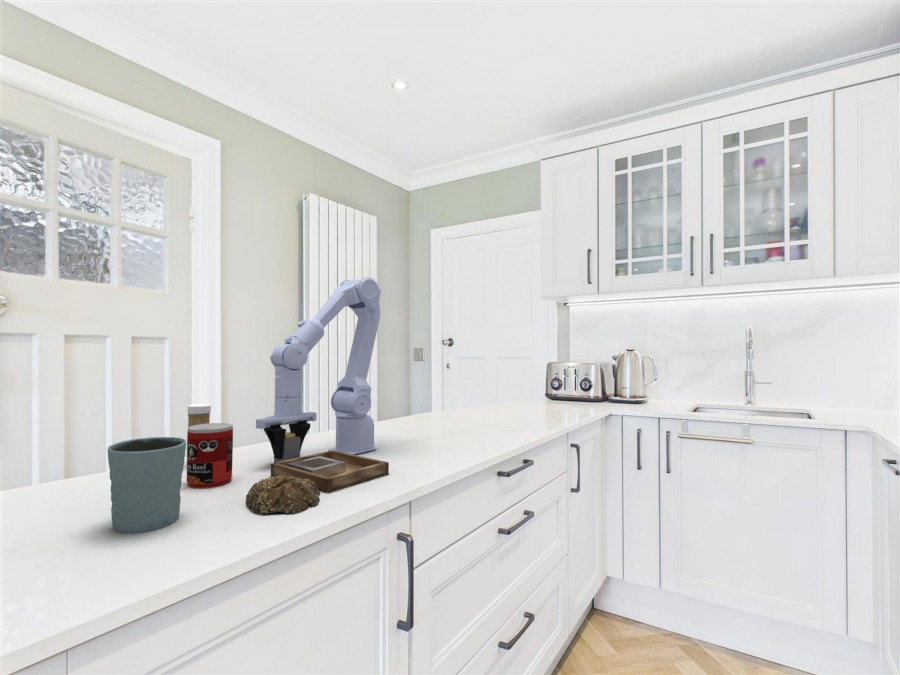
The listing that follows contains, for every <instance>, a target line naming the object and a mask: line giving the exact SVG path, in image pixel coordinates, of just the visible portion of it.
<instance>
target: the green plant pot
mask: <svg viewBox="0 0 900 675" xmlns="http://www.w3.org/2000/svg"><path fill="white" fill-rule="evenodd" d="M186 450H187V440H186V439H185V438H181V437H176V436H175V437H173V436H153V437H152V436H151V437H142V438H141V437H140V438H133V439H127V440H122V441H119V442H116V443H113V444H111V445H109V446H108V447H107V460H108V461H107V462H108V467H109V479H110V501H111V508H110V510H111V511H110V512H111V514H110V515H111V527H112V529H113V531H115V532H118V533H121V534H137V533H147V532H151V531H155V530H159V529H162V528H163V529H164V528H166V527H167V526H168V527H169V526H170V525H172V524H174V523H176V522H178V520H179V517H180V512H181V508H180V507H181V499H182V498H181V489H182V488H181V487H182V485H183V484H182V477H183V473H184V472H183V471H184V466H185V459H186V458H185V456H186Z"/></svg>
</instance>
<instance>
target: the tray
mask: <svg viewBox="0 0 900 675" xmlns="http://www.w3.org/2000/svg"><path fill="white" fill-rule="evenodd" d="M318 456H322V457H326V458H330V459H334V460H339V461H343V462H346V472H343V473H339V474H336V475H332V476H328V477H326V476H322V475H319V474H315V473H311V472H308V471H304V470H300V469H296V468H293V467H289V466H287V463H292V462H296V461H300V460H305V459H309V458H314V457H318ZM389 463H390V462H388V461H383V460H379V459H374V458H370V457H367V456H366V457H365V456H363V455H362V456H361V455H358V454H355V455H353V454H348V453H343V452H339V451H334V450H331V451H328V450H327V451H322V452H317V453H313V454H307V455H303V456H300V457H299V458H294V459H290V460H285V461H281V462H276V463H274V462H273V463H272V462H271V463H270V477H275V476H278V475H285V476H292V477H295V478H301V479H310V480H311V481H313V482H314V483H315V484H316V485H317V487H318V488H319V491H320V492H323V493H325V494H328V493H333V492H335V491H336V492H337V491H339V490H341V489H345V488H349V487H351V486H355V485H358V483H359V484H362V483H364V481H365V482H368V481H370V480H371V479H372V480H375V479H377V477H378V478H381V477H384V475H385V476H388V475H389V474H390V472H389V469H390V468H389V467H390V466H389V465H390V464H389ZM374 478H375V479H374ZM361 482H362V483H361ZM348 486H349V487H348Z"/></svg>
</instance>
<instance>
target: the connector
mask: <svg viewBox="0 0 900 675" xmlns="http://www.w3.org/2000/svg"><path fill="white" fill-rule="evenodd" d="M299 457H301V451H300V437H298V436H295V433H291V432H290V431H289V432H288V431H286V433H285V437H284V442H283V456H282V459H276V458H274V457H273V463H276V462H281V461H285V460H290V459H294V458H299Z"/></svg>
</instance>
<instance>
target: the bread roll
mask: <svg viewBox="0 0 900 675" xmlns="http://www.w3.org/2000/svg"><path fill="white" fill-rule="evenodd" d="M320 495H321V491H319V488H318V487H317V485H316V484H315V483H314V482H313V481H311V480H310V479H301V478H295V477H292V476H285V475H278V476H275V477H273V476H270V477H267V478H264V479H261V480H259V481H258V482H255V483H253V485H251V487H250V489H249V490H248V491H247V494H246V496H245V504H246V507H247V509H250V510H251V511H252V512H253V514H255V515H260V516H263V515H264V514H265V515H268V514H269V515H270V514H273V513H285V514H287V515H297V514H300V513H303V512H305V511H307V510H309V508H313V507H315V506H317V505H318V504H319V502H320V501H321V499H320ZM312 506H313V507H312ZM308 507H309V508H308Z"/></svg>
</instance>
